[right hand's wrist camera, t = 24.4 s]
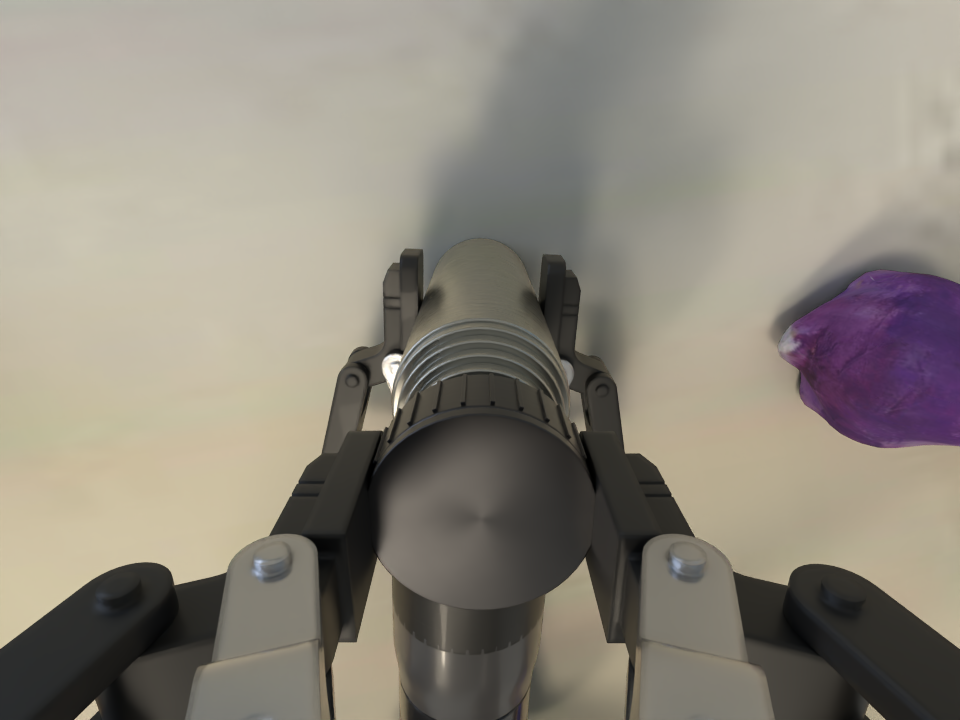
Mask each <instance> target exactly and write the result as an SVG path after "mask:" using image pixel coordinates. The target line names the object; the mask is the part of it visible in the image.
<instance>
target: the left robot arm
mask: <svg viewBox="0 0 960 720" xmlns="http://www.w3.org/2000/svg"><path fill="white" fill-rule="evenodd" d="M580 292H581V290H580V287H579V283H578V280H577V277H576V276H575V275H574V273H573V272H572V271H571V270H566V263H565V261H564V259H563V258H562V256H561V255H543V257H542V265H541V277H540V290H539V302H538V303H539V305H540V308H541V310H542V313H543V316H544V318H545V321H546V323H547V326H548V329H549V331H550V334H551V336H552V339H553V342H554V344H555V347H556V349H557V352H558V355H559V357H560V360H561V362H562V365H563V368H564V370H565V373H566V376H567V379H568V384H569V389H571V390H574V391H577V392H579V393H581V398H582V405H583V412H584V418H585V425H586V431H614V432H615V433H616V435H617V437H618V439H619V441H620V443H621V446H622V448H623V450H624V443H623V435H622V427H621V419H620V411H619V403H618V395H617V387H616V384H615V382H614V380H613V379H612V377H611V375H610V373H609V372H608V370H607V368H606V366H605V365H604V363H603V361H602V360H601V359H600V358H599V357H596V356H586V355H583V354H581V353H579V352H577V351H575V339H576V330H577V320H578V311H579V302H580ZM383 296H384V298H383V304H384V342H383V343H382V344H380V345H377V346H374V347H370V348H368V347H358V348H356V349H355V350H354V351H353V352H352V353H351V355H350V357H349V359H348V362H347V364H346V365H345V366H344V367H343V368H342V370H341V371H340V373H339V375H338V378H337V383H336V388H335V392H334V397H333V402H332V407H331V411H330V416H329V421H328V426H327V431H326V435H325V440H324V445H323V450H322V454H323V453H338V452H339V450H340V448H341V445H342V443H343V441H344V439H345V437H346V435H347V433H348V431H362V426H363V422H364V418H365V414H366V409H367V405H368V401H369V397H370V392H371V388H372V386H374V385H377V384H380V383H384V382H387V384H388V387H389V389H390V391H391V394H392V387H393V382H394V378H395V375H396V372H397V369H398V366H399V364H400V361H401V358H402V356H403V353H404V350H405V348H406V345H407V342H408V340H409V337H410V334H411V332H412V329H413V326H414V324H415V321H416V318H417V316H418V313H419V310H420V308H421V305H422V303H423V249H405V250H404V251H403V252H402V254H401V256H400V263H393V264H392V265H391V266H390V268H389V269H388V271H387V274H386V276H385V279H384V281H383ZM624 452H625V451H624ZM322 454H321V455H322ZM392 599H393V636H394V645H395V651H396V657H397V661H398V666H399V704H400V720H528V718H527V717H528V706H529V697H530V686H531V677H532V672H533V668H534V665H535V662H536V658H537V655H538V650H539V645H540V639H541V630H542V620H543V611H544V601H545V594H544V595H542V596H540V597H538V598H536V599H534V600H532V601H529V602H526V603H523V604H520V605H516V606H512V607H508V608H502V609H494V610H469V609H461V608H455V607H450V606H446V605H443V604H439V603H436V602H433V601H431V600H429V599H426V598H424V597H422V596H420V595H418V594H416V593H414V592H413V591H411V590H410V589H408V588H407V587H405V586H404V585H402V584H401V583H400V582H399V581H398V580H397V579H395V578H394V577H393V576H392Z"/></svg>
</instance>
